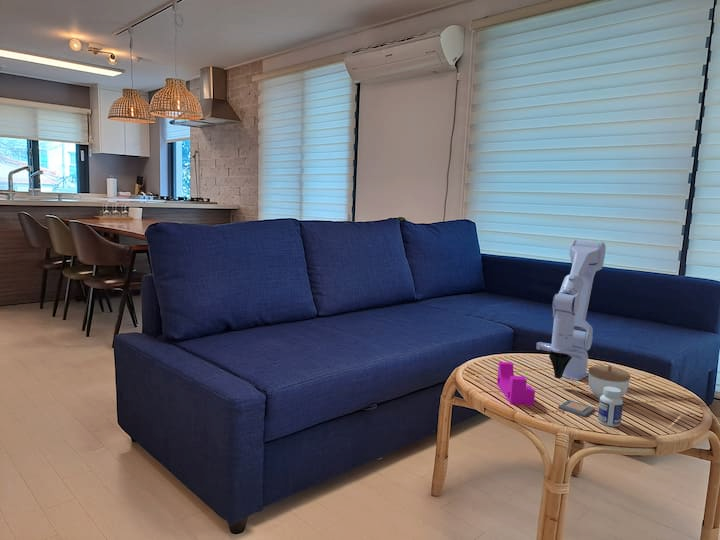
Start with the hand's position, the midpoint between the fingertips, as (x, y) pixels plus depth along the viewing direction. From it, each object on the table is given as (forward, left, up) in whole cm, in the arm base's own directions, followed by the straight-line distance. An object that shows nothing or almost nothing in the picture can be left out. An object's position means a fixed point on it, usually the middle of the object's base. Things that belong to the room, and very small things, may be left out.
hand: (558, 377), depth 153 cm
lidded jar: (-3, +13, -3) cm, 14 cm away
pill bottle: (+15, +20, -3) cm, 25 cm away
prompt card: (+13, +11, -3) cm, 17 cm away
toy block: (+17, -5, -3) cm, 18 cm away
